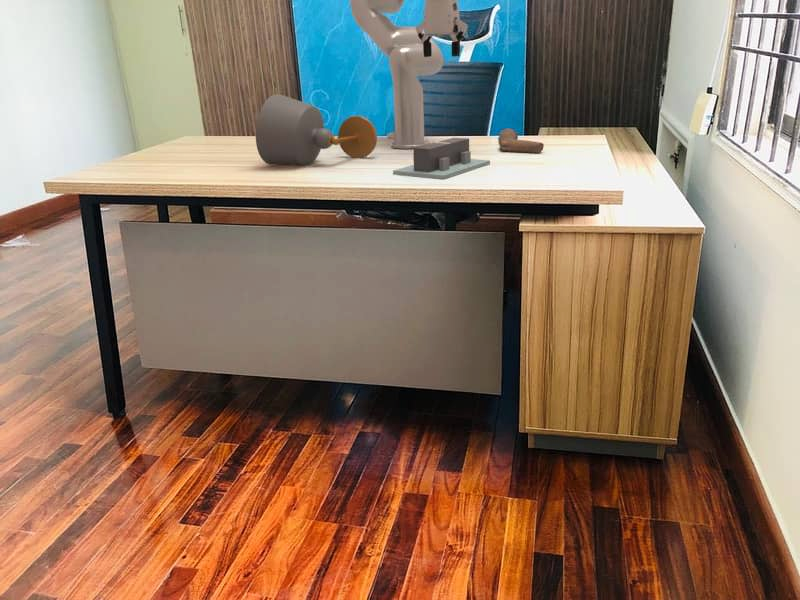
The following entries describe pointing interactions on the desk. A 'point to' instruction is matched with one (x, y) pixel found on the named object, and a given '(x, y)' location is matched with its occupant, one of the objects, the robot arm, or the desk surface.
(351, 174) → the desk surface
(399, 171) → the base
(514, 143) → the pipe
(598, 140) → the desk surface
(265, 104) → the light fixture
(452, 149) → the dark gray block
